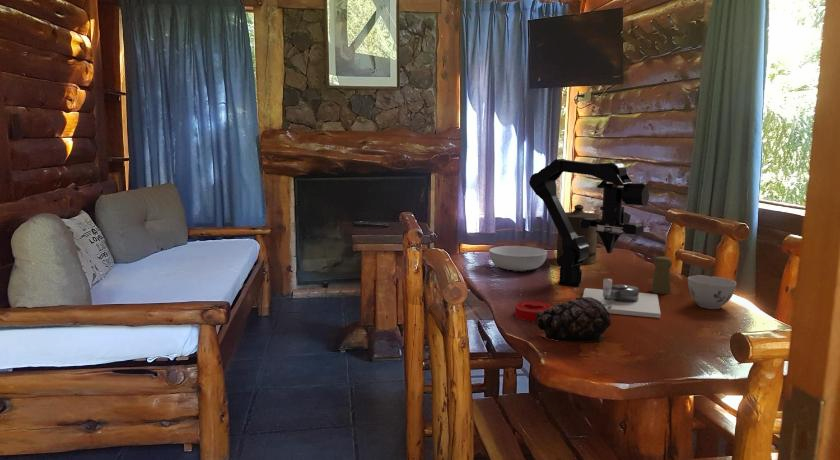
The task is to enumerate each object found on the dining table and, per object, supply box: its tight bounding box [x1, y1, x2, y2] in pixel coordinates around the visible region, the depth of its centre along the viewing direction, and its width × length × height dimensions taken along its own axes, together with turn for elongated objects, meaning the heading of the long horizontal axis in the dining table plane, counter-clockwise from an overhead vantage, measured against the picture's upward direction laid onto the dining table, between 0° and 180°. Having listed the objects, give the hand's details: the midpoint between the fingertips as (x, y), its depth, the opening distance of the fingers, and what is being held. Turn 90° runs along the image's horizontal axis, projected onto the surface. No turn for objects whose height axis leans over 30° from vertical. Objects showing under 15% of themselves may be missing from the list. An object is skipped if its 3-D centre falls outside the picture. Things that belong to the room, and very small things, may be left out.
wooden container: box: [555, 203, 599, 266], centre depth 233 cm, size 15×15×22 cm
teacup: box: [687, 274, 737, 310], centre depth 174 cm, size 15×12×8 cm
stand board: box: [581, 287, 661, 319], centre depth 175 cm, size 21×21×2 cm
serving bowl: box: [488, 245, 548, 272], centre depth 220 cm, size 21×21×7 cm
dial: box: [602, 277, 640, 302], centre depth 174 cm, size 14×8×7 cm, turn 131°
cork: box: [650, 256, 673, 295], centre depth 189 cm, size 6×6×11 cm
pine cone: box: [534, 296, 612, 343], centre depth 145 cm, size 10×18×10 cm, turn 98°
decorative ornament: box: [514, 300, 552, 322], centre depth 163 cm, size 10×10×3 cm
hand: (609, 253), depth 188 cm, fingers closed
